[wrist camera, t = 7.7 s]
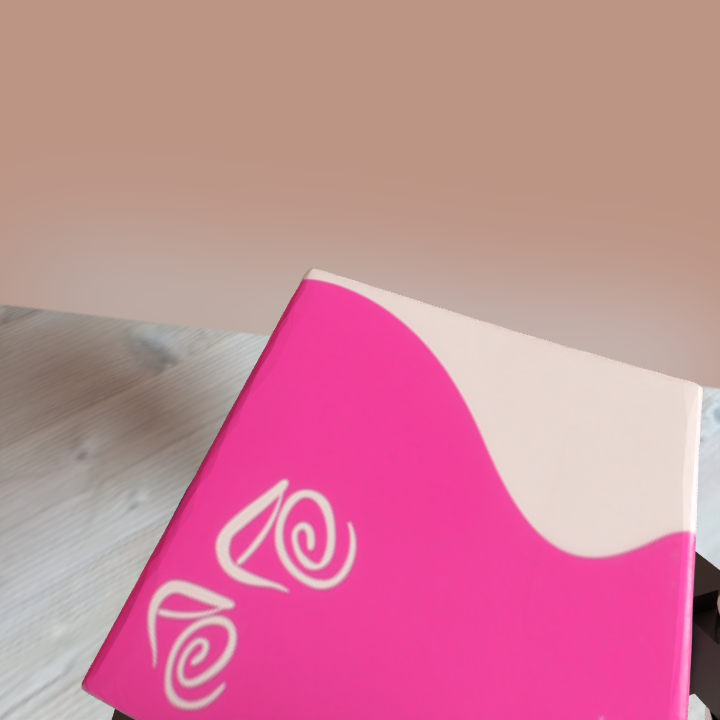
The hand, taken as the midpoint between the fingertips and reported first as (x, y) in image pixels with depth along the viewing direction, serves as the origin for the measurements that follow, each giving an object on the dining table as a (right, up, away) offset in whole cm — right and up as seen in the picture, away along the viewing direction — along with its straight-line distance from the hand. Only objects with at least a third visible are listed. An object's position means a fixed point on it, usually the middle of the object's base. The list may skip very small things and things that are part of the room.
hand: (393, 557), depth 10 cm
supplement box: (0, -3, +5) cm, 5 cm away
